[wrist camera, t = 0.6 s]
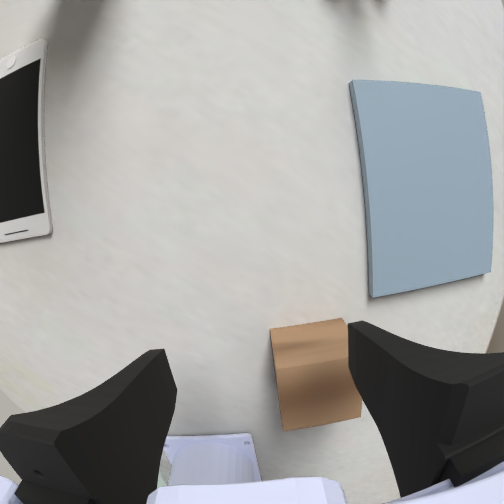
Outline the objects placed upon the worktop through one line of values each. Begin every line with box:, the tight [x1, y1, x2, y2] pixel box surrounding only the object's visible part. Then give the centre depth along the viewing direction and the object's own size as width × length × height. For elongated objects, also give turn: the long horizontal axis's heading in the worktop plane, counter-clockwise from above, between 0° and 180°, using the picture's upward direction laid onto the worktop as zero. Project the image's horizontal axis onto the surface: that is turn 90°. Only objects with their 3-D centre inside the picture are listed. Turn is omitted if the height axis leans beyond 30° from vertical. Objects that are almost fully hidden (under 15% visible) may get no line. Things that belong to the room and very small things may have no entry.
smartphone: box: [0, 37, 53, 243], centre depth 17 cm, size 7×16×1 cm, turn 5°
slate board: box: [349, 80, 493, 298], centre depth 19 cm, size 14×11×1 cm
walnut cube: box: [270, 318, 362, 431], centre depth 19 cm, size 5×5×5 cm
